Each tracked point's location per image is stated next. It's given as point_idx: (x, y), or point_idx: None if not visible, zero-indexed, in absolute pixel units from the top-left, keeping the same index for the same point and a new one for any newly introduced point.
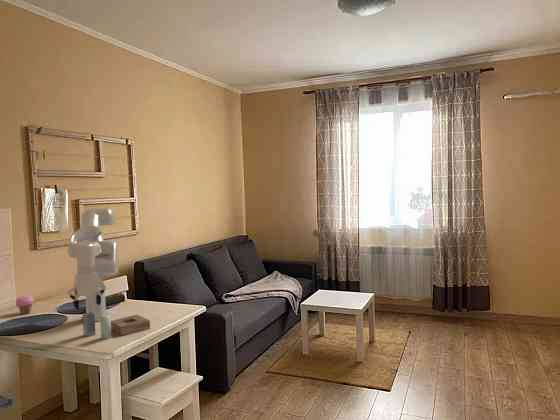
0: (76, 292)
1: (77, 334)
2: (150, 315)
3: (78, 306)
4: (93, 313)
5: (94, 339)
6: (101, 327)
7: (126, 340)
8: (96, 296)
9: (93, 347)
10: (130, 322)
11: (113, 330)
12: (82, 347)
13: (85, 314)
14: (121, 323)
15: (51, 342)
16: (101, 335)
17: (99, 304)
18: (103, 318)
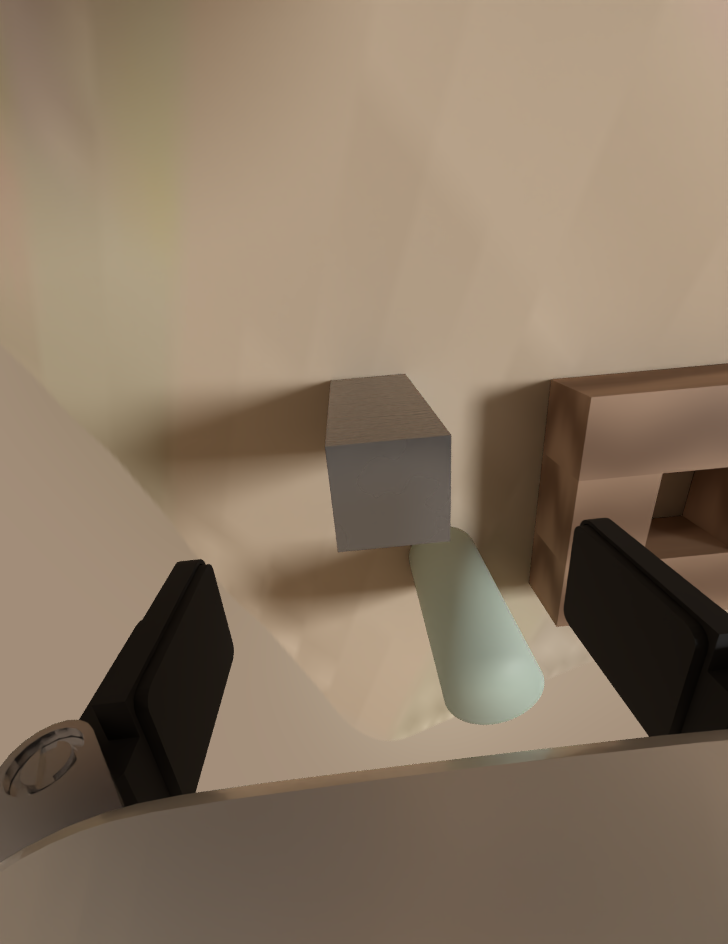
0: (5, 921)
1: (289, 324)
2: None
3: (218, 689)
4: (447, 517)
5: None
6: (425, 625)
7: None
8: (686, 649)
9: (324, 656)
10: (670, 563)
11: (545, 454)
12: (270, 623)
13: (352, 494)
14: None
15: (69, 391)
16: (413, 575)
17: (574, 620)
18: (457, 711)
